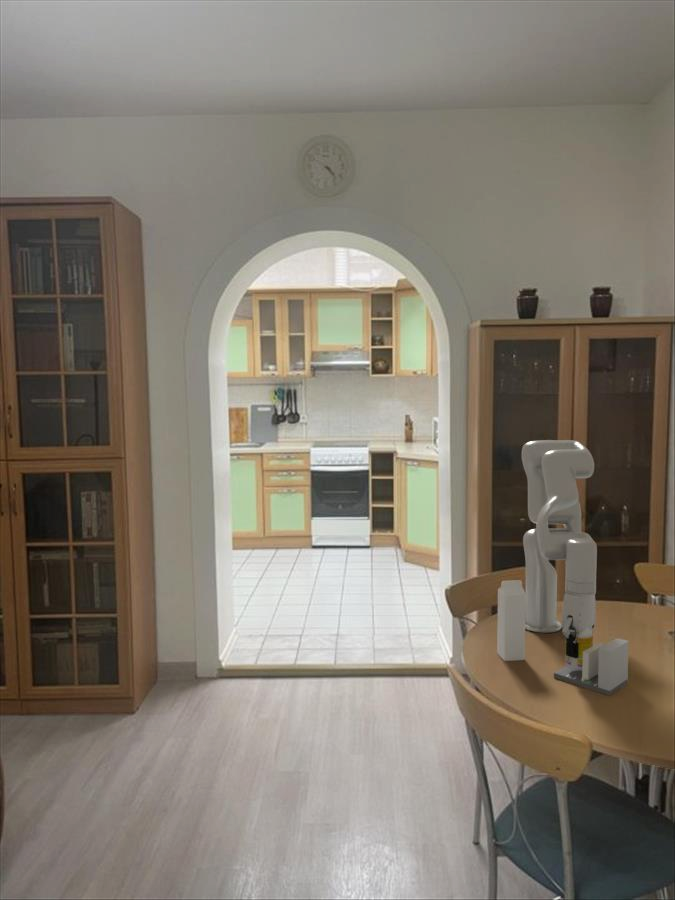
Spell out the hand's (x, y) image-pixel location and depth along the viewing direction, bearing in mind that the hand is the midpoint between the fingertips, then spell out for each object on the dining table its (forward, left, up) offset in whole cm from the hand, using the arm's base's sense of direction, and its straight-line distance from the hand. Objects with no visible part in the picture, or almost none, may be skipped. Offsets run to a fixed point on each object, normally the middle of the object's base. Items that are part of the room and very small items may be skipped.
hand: (579, 652), depth 174 cm
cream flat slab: (+4, -1, -5) cm, 6 cm away
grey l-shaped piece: (+3, 0, -7) cm, 7 cm away
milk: (-20, -1, -7) cm, 21 cm away
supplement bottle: (0, 0, -4) cm, 4 cm away
